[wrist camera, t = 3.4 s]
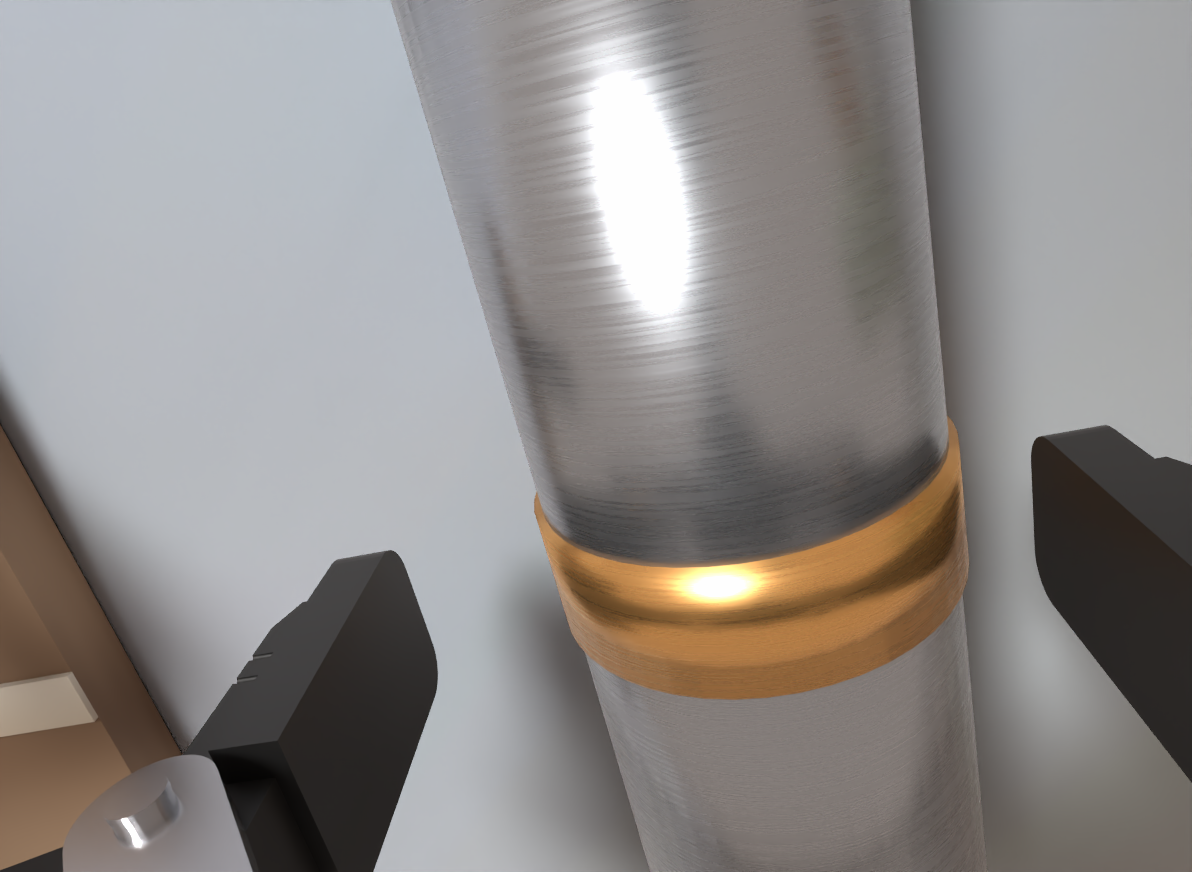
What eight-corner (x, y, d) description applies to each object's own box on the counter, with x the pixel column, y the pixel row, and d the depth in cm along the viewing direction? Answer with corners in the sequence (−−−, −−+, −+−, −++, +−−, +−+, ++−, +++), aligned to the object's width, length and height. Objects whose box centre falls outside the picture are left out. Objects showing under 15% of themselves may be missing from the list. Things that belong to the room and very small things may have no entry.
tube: (341, -289, 10) (101, -651, 5) (785, -427, 9) (985, -969, 5) (681, 903, 17) (715, 1218, 12) (937, 859, 17) (1076, 1167, 12)
